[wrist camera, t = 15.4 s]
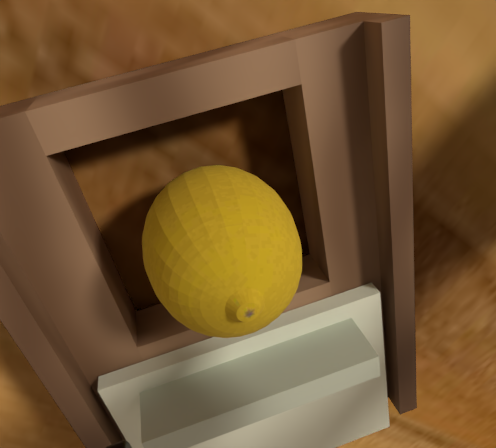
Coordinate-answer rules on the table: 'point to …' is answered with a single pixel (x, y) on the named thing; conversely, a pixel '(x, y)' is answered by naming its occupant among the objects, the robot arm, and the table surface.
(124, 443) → the robot arm
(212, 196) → the lemon
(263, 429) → the cover
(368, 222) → the sliding lid box
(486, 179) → the table surface
